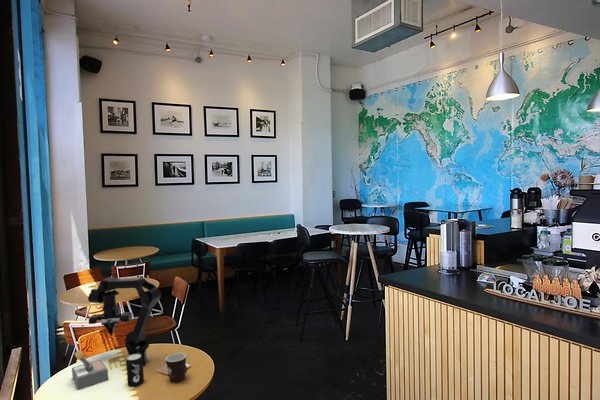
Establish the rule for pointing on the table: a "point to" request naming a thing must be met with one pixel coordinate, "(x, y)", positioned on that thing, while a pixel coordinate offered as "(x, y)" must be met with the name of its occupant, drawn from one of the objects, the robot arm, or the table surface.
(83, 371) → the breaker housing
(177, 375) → the coffee mug
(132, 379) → the beverage can
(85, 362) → the breaker lever
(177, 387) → the table surface
